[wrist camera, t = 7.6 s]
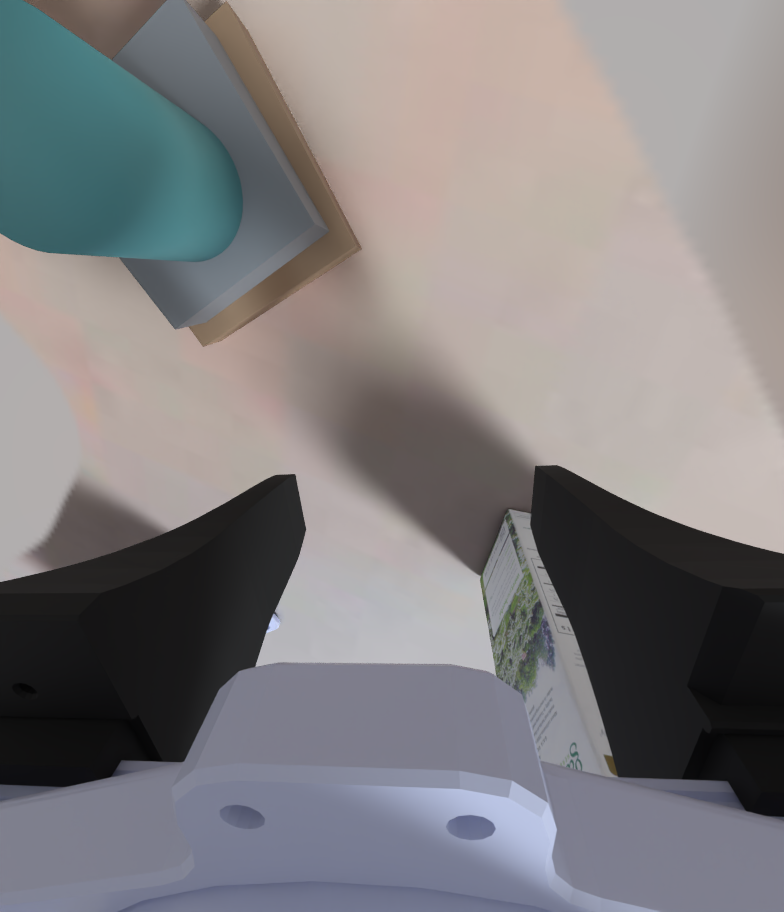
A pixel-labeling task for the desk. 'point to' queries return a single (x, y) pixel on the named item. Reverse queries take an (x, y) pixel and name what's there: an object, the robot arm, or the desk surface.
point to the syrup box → (541, 652)
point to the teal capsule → (103, 154)
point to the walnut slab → (292, 142)
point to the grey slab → (253, 152)
